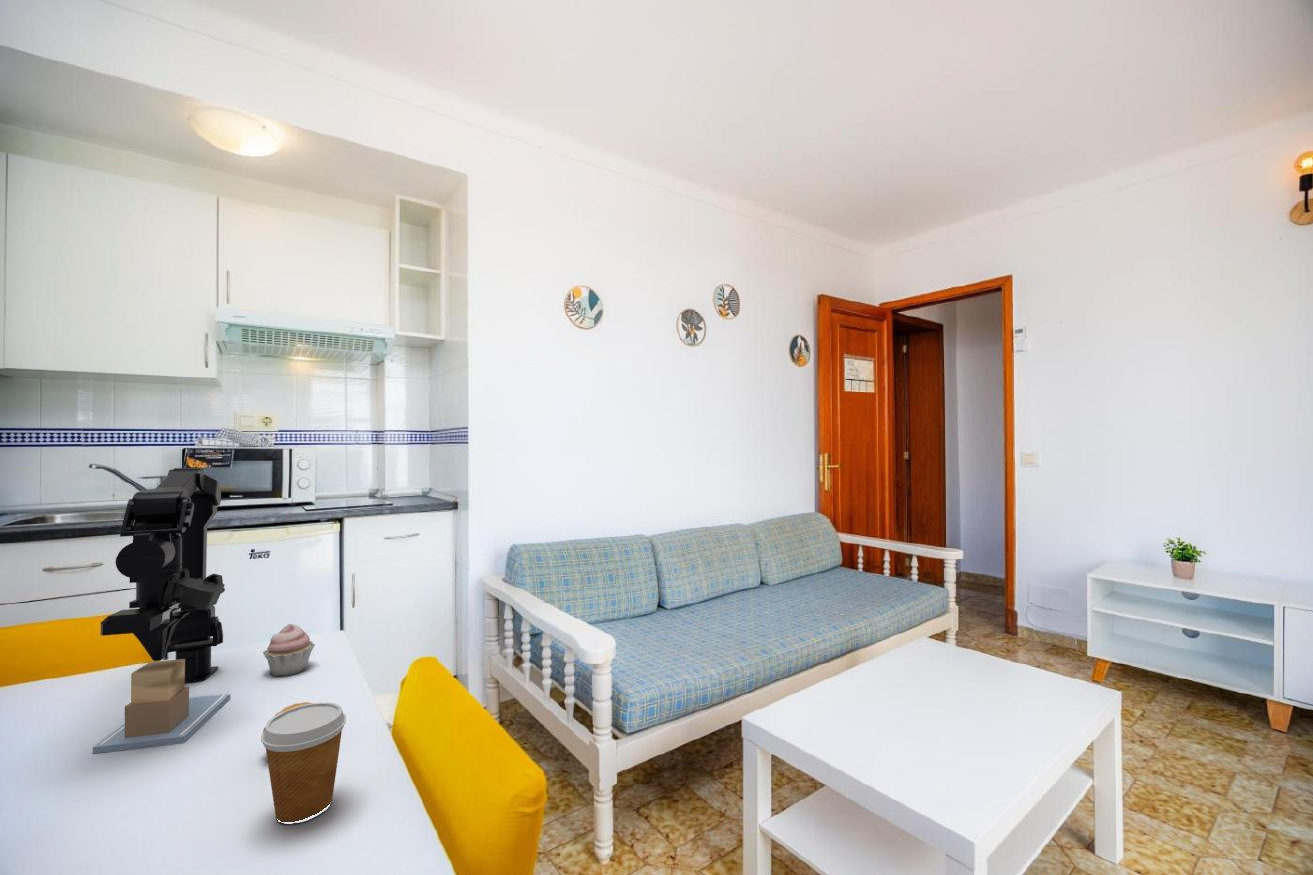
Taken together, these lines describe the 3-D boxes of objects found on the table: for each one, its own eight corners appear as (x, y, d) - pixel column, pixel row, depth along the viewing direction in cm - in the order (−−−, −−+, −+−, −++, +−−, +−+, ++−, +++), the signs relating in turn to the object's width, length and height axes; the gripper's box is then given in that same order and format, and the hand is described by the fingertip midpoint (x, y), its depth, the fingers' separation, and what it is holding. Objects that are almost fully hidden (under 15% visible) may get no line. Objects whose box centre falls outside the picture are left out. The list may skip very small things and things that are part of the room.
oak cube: (149, 691, 95) (149, 661, 95) (184, 688, 97) (184, 658, 97) (131, 704, 90) (131, 673, 90) (168, 700, 92) (168, 670, 92)
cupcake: (259, 683, 112) (259, 633, 113) (265, 667, 121) (265, 620, 121) (313, 674, 117) (314, 626, 117) (316, 659, 125) (316, 614, 125)
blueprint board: (153, 707, 102) (153, 674, 102) (230, 699, 106) (230, 667, 106) (92, 753, 87) (92, 714, 87) (184, 742, 90) (185, 705, 90)
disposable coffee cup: (329, 778, 80) (329, 694, 81) (358, 805, 74) (358, 714, 74) (249, 812, 73) (250, 719, 73) (274, 845, 67) (275, 744, 67)
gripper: (187, 575, 87) (186, 676, 87) (240, 553, 105) (239, 637, 105) (98, 580, 84) (97, 685, 84) (168, 556, 102) (168, 642, 102)
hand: (158, 660), depth 93 cm, fingers closed
